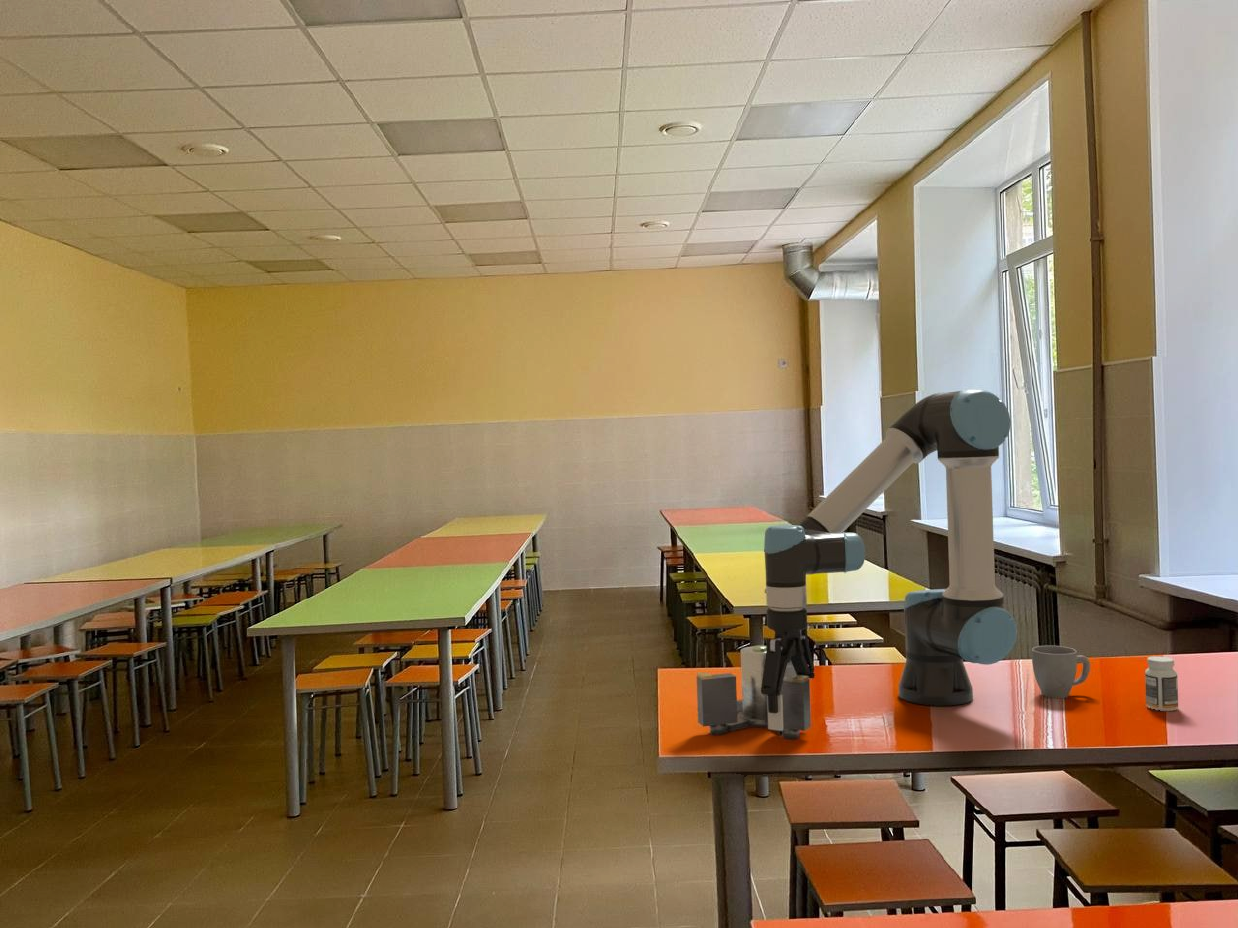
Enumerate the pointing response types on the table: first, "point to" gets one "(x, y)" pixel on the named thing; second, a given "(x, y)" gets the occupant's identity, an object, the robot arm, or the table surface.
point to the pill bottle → (1161, 684)
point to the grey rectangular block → (795, 706)
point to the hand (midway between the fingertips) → (789, 720)
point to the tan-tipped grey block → (716, 701)
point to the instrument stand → (752, 691)
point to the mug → (1058, 669)
